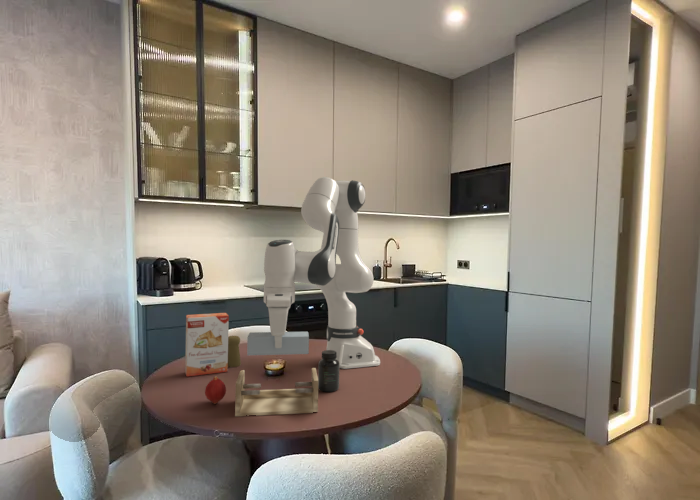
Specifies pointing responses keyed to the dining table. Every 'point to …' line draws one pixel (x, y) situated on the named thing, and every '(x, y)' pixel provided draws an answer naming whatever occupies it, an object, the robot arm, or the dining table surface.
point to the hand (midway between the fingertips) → (278, 344)
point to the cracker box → (206, 344)
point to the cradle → (275, 398)
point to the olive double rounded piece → (233, 351)
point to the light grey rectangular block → (266, 343)
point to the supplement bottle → (328, 372)
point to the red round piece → (215, 390)
